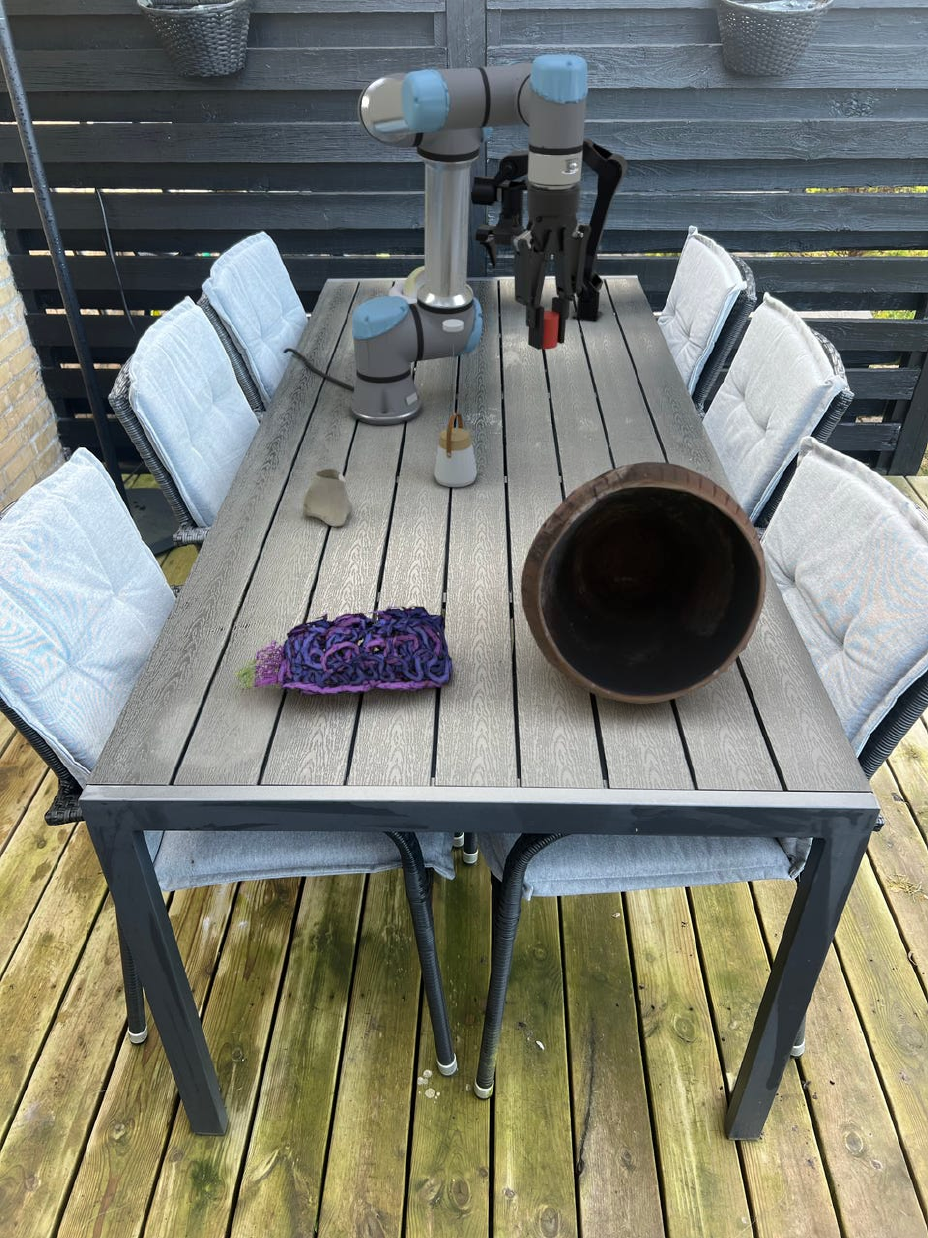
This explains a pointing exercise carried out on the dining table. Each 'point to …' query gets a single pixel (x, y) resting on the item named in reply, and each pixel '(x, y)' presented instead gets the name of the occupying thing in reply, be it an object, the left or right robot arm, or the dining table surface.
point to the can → (550, 329)
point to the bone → (327, 498)
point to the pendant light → (455, 442)
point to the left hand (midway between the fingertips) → (546, 343)
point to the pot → (644, 583)
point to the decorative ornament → (358, 654)
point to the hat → (410, 286)
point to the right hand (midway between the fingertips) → (510, 269)
